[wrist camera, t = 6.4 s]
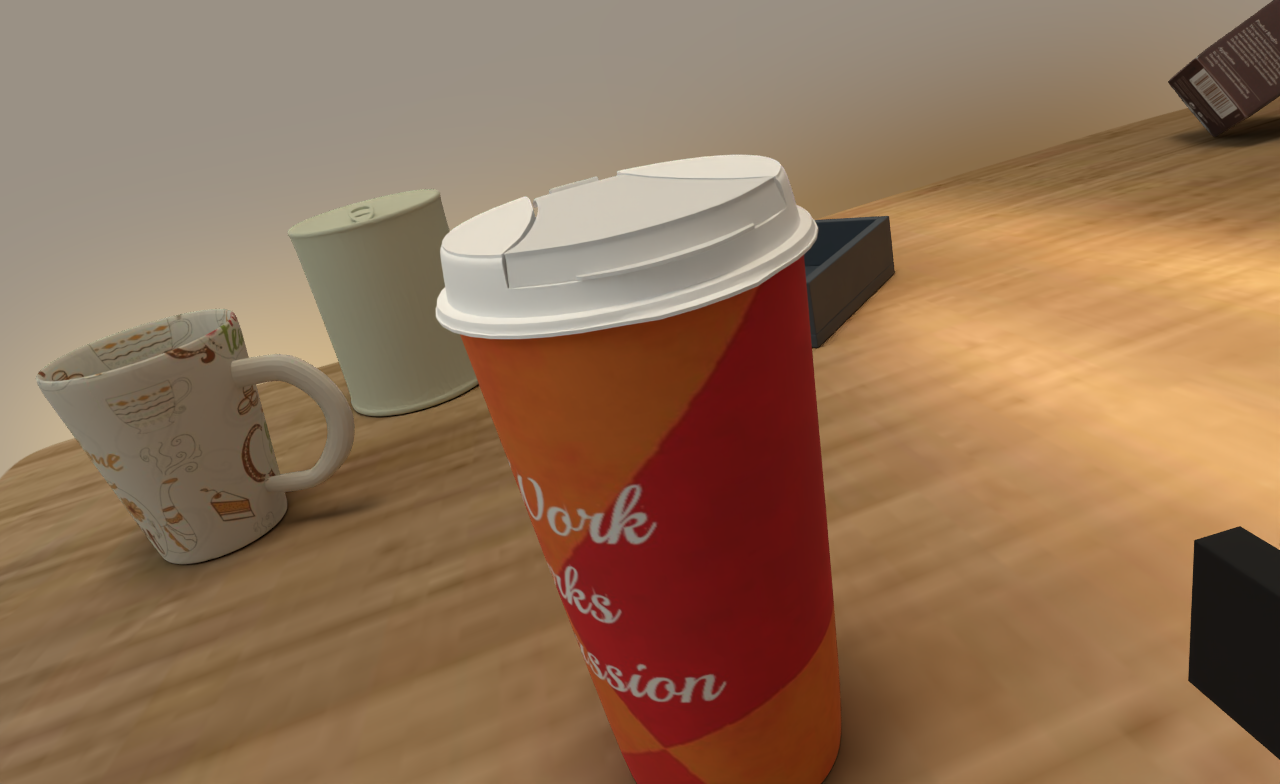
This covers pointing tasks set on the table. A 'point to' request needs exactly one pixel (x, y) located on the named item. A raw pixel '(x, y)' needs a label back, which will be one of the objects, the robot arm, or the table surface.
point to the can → (385, 300)
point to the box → (1234, 73)
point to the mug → (190, 429)
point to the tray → (845, 270)
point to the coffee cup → (668, 452)
